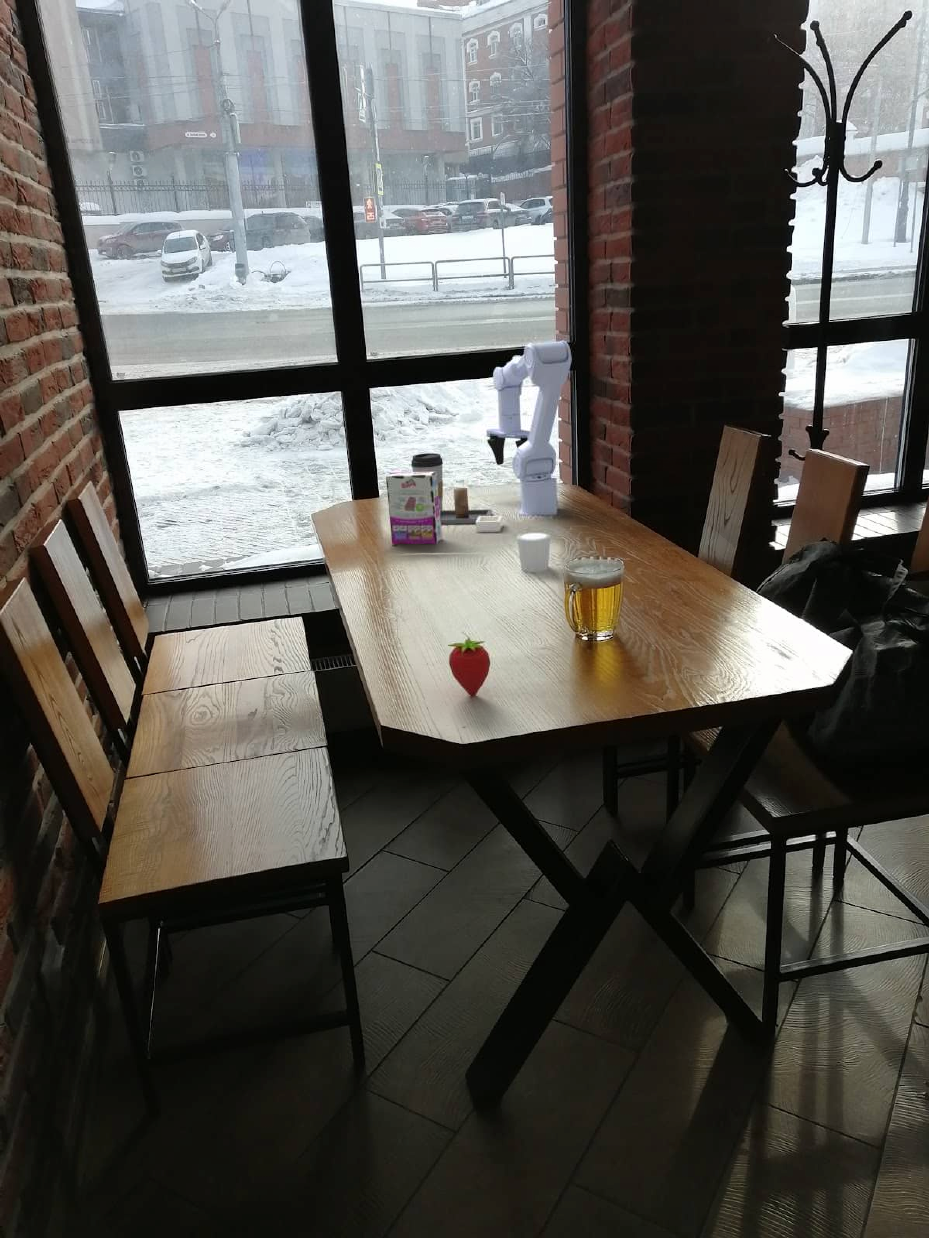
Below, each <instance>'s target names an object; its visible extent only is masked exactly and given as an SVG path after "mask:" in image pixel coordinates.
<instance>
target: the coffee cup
mask: <svg viewBox="0 0 929 1238" xmlns="http://www.w3.org/2000/svg"><path fill="white" fill-rule="evenodd" d="M443 464H444V462H443V458H442V455H441V454H440V453H437V452H436V453H434V452H431V453H430V452H428V453H420V454H414V455H412V459H411V464H410V466H411V468H412V469H411V470H412V472H437V479H438V492H439V505H440V511H441V510H443V494H444V491H443V490H444V487H443V486H444V484H443V483H444V482H443V481H444V480H443Z"/></svg>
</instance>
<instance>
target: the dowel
mask: <svg viewBox="0 0 929 1238" xmlns="http://www.w3.org/2000/svg"><path fill="white" fill-rule="evenodd" d="M453 500H454V502H453V503H454V510H455V517H456V519H466V518H469V510H470V509H469V497H468V488H467V487H456V488H454V489H453Z"/></svg>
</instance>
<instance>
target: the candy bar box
mask: <svg viewBox="0 0 929 1238" xmlns="http://www.w3.org/2000/svg"><path fill="white" fill-rule="evenodd" d="M385 482H386V490H387V491H386V492H387V493H386V494H387V500H388V501H387V503H388V504H387V505H388V515H389V524H390V534H391V535H390V537H391V544H395V545H394V546H398V545H399V544H400V545H407V544H408V545H412V544H413V545H438V543H439V542H441V540H443V534H442V531H443V530H442V525H441V519H440V505H439V492H438V479H437V472H413V471H410V472H409V471H406V472H405V471H400V472H391V473H389V474H387V475H386V476H385ZM396 544H397V545H396Z"/></svg>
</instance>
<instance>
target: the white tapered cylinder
mask: <svg viewBox="0 0 929 1238" xmlns="http://www.w3.org/2000/svg"><path fill="white" fill-rule="evenodd" d="M516 537H517V538H516V539H517V546H518V554H519V560H520V561H519V563H520V569H521V571H523V572H525V573H526V572H527V573H541V572H545V571H547V570H548V569H549V559H550V544H551V535H550V534H549V533H548V532H547V533H546V532H541V531H540V532H539V531H534V532H533V531H532V532H524V533H520V534H518V535H517V536H516Z"/></svg>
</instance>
